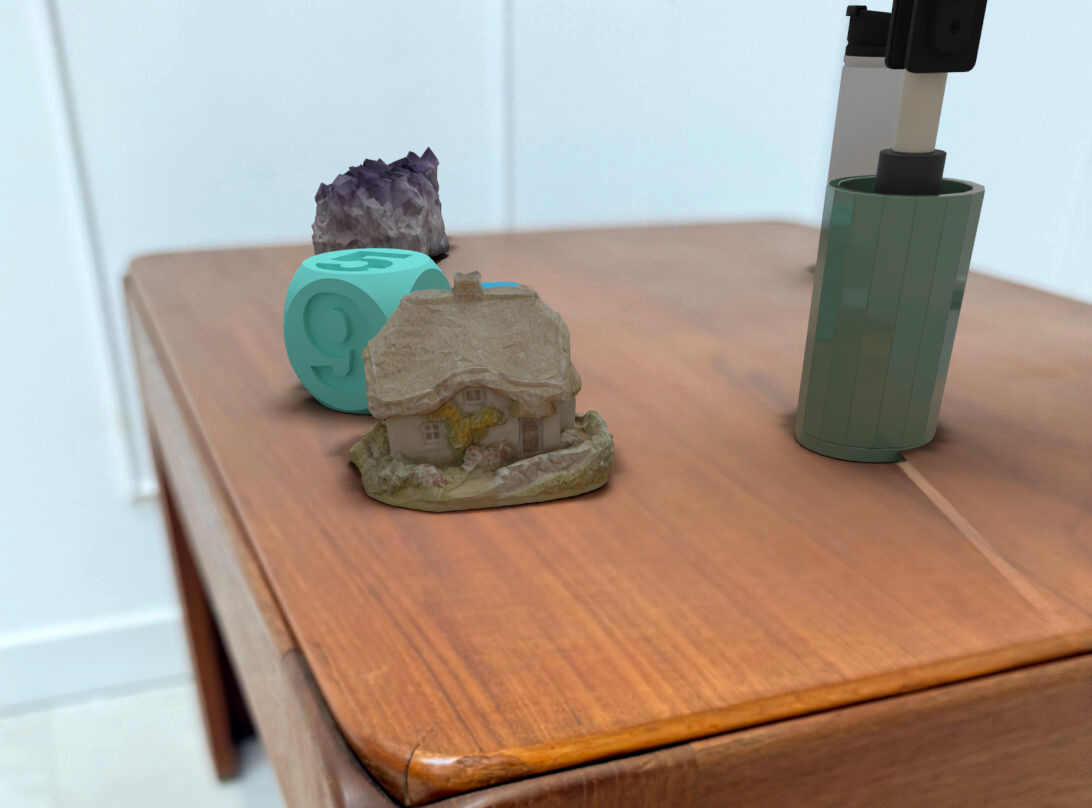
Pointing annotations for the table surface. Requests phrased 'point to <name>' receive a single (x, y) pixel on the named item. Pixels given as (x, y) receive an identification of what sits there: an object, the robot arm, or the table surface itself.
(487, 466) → the ceramic model
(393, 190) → the geode
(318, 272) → the decorative dice
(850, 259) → the green pencil cup
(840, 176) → the travel mug
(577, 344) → the table surface
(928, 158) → the marker
